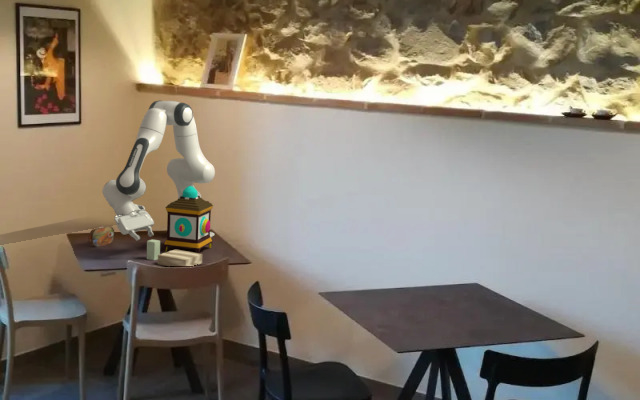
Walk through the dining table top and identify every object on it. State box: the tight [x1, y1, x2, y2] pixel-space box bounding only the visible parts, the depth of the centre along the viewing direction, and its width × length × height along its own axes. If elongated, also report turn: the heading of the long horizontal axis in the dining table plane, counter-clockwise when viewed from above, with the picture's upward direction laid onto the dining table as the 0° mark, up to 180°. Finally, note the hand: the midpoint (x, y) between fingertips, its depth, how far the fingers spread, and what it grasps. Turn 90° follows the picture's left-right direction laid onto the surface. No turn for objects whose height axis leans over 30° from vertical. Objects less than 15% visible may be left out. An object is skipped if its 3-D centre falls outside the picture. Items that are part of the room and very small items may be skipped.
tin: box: [88, 225, 116, 248], centre depth 356 cm, size 15×3×8 cm, turn 154°
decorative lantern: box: [163, 186, 214, 254], centre depth 355 cm, size 20×20×30 cm
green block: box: [146, 239, 161, 261], centre depth 337 cm, size 4×4×8 cm
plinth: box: [157, 249, 204, 267], centre depth 332 cm, size 13×14×4 cm
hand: (145, 237), depth 338 cm, fingers open, 8 cm apart
